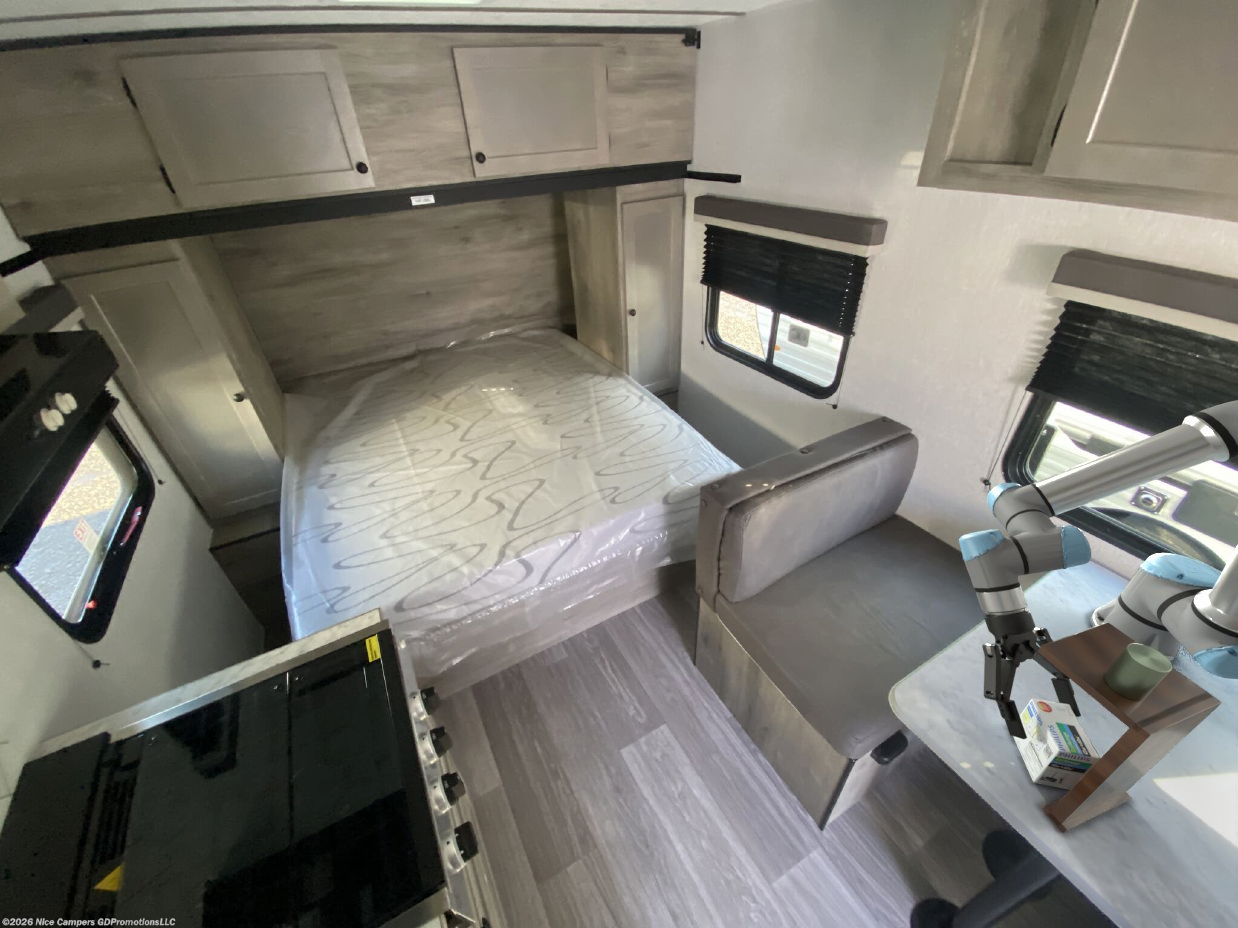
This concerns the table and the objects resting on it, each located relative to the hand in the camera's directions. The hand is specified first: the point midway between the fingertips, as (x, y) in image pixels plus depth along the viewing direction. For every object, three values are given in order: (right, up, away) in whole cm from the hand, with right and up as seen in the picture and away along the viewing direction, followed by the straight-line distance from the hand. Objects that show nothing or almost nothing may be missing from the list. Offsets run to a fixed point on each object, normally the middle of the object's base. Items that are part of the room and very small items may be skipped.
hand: (1046, 725), depth 95 cm
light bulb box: (+1, -8, +3) cm, 8 cm away
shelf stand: (+1, -9, +1) cm, 9 cm away
